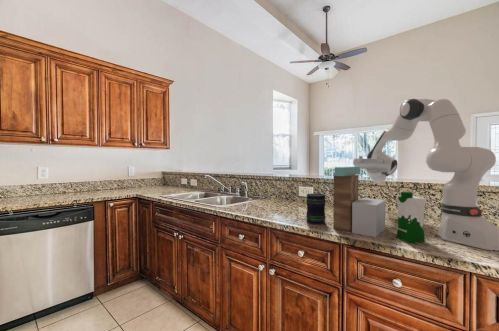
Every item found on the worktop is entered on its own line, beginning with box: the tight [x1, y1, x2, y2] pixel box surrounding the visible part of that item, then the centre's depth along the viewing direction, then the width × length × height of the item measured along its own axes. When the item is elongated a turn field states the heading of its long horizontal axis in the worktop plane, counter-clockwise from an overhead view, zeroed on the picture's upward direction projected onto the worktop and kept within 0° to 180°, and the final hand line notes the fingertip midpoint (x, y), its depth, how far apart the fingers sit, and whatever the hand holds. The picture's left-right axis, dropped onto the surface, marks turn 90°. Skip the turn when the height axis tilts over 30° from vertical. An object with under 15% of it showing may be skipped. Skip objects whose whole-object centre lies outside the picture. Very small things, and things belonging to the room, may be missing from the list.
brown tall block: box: [332, 174, 359, 233], centre depth 119 cm, size 12×8×26 cm, turn 140°
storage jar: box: [305, 192, 326, 226], centre depth 129 cm, size 10×10×15 cm
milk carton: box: [395, 191, 428, 244], centre depth 100 cm, size 9×9×20 cm
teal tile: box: [334, 165, 361, 176], centre depth 121 cm, size 26×4×4 cm, turn 140°
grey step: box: [351, 197, 386, 238], centre depth 114 cm, size 18×10×14 cm, turn 140°
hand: (369, 157), depth 137 cm, fingers open, 8 cm apart
